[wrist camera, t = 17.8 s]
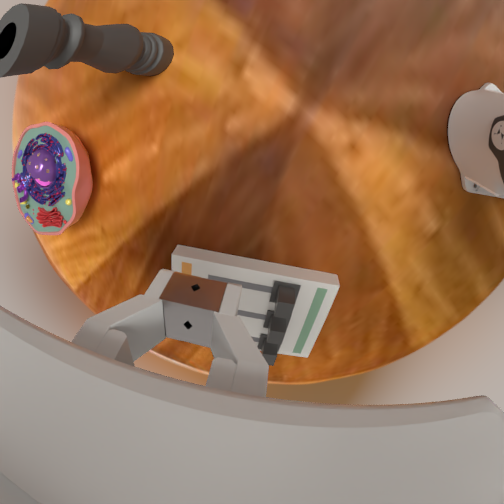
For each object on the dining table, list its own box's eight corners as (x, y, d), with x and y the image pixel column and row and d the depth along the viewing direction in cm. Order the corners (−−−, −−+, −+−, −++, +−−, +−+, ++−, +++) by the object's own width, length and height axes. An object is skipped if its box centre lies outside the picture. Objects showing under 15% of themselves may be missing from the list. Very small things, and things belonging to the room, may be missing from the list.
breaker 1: (283, 337, 48) (282, 354, 44) (278, 351, 50) (277, 367, 46) (260, 333, 48) (258, 351, 44) (257, 347, 50) (254, 364, 46)
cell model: (31, 182, 41) (-8, 206, 31) (66, 95, 32) (16, 104, 22) (84, 234, 45) (48, 268, 36) (130, 150, 37) (85, 171, 27)
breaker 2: (300, 285, 41) (301, 302, 38) (294, 304, 43) (294, 322, 40) (274, 280, 41) (273, 297, 38) (269, 300, 44) (267, 318, 40)
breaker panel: (337, 274, 43) (339, 286, 41) (307, 346, 53) (307, 357, 50) (177, 244, 44) (171, 254, 41) (178, 321, 53) (174, 332, 51)
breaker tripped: (291, 313, 44) (291, 331, 41) (286, 330, 47) (285, 347, 43) (267, 309, 45) (265, 327, 41) (263, 326, 47) (261, 343, 43)
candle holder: (150, 84, 31) (0, 98, 10) (126, 58, 29) (-21, 58, 8) (182, 53, 29) (43, 19, 7) (156, 28, 27) (17, -11, 5)
